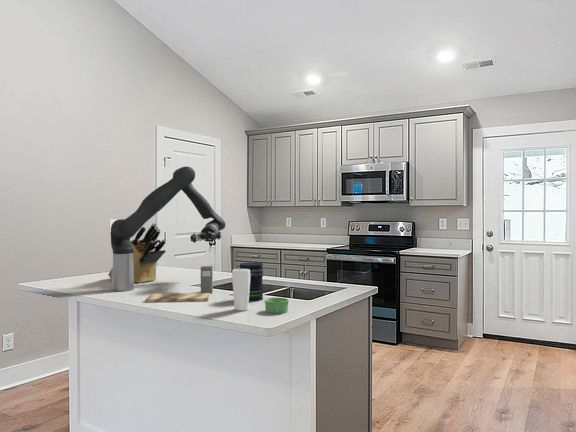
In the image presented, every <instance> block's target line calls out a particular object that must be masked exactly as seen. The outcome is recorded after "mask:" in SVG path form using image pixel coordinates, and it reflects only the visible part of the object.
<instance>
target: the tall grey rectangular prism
mask: <svg viewBox="0 0 576 432" xmlns="http://www.w3.org/2000/svg"><path fill="white" fill-rule="evenodd" d="M213 266H214V265H201V266H200V293H210V295H211V294H213V291H214V278H213V276H214V267H213Z"/></svg>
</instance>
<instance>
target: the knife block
mask: <svg viewBox="0 0 576 432" xmlns="http://www.w3.org/2000/svg"><path fill="white" fill-rule="evenodd" d="M146 230H147V231H146ZM145 231H146V233H145ZM144 233H145V234H144ZM160 234H161V229H160V228H159V227H158V226H157V223H156V222H154V223H152V224H151V226H150V227H149V228H148V229H146V227H145V226H142V227H141V228H140V229H139V230H138V231H137V233H136V234H135V235H136V236H135V237H134V239H133V240H130V243H131V245H132V247H133V249H134V283H137V284H141V283H144V282H154V281H155V280H156V277H157V275H156V274H157V262H158V261H159V260H160V259H161V257H162V256H163V255H164V254H165V253H166V249H164V250H161V249H163V247H164V246H165V244H166V243H167V240H166V239H165V238H164V239H162V240H160V239H158V237H159V236H160ZM143 235H144V237H143V238H142V236H143ZM112 270H113V266H112V267H111V269H110V271H109V272H108V274H107V275H108V277H109V279H110V280H112Z"/></svg>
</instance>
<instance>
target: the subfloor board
mask: <svg viewBox="0 0 576 432" xmlns="http://www.w3.org/2000/svg"><path fill="white" fill-rule="evenodd" d="M210 296H211V294H210V293H201V292H200V293H199V292H195V293H194V292H191V293H181V292H174V293H173V292H169V293H168V292H166V293H151V294H150V295H149V296H147V297H146V299H145V303H178V302H180V303H181V302H185V303H187V302H208V301H209V299H210Z"/></svg>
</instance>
